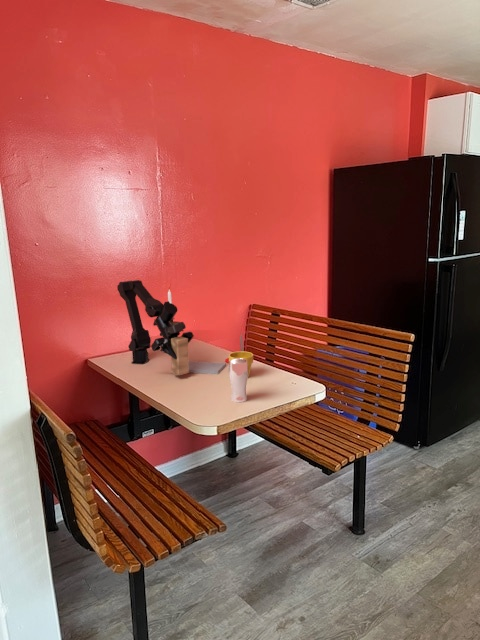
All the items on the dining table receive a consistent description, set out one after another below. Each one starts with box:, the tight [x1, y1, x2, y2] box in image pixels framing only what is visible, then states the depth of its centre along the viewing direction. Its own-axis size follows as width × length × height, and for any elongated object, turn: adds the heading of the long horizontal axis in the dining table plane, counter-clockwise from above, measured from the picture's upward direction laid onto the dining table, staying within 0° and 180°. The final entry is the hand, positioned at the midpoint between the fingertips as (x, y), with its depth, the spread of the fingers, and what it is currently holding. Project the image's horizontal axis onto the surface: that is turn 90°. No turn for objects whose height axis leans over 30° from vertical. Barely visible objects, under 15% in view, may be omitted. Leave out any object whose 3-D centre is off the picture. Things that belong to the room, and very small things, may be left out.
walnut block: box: [171, 335, 190, 376], centre depth 202 cm, size 5×5×15 cm
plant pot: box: [228, 350, 254, 378], centre depth 202 cm, size 10×10×10 cm
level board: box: [188, 360, 227, 375], centre depth 215 cm, size 18×12×1 cm, turn 74°
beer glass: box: [228, 358, 249, 403], centre depth 177 cm, size 7×7×15 cm
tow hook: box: [224, 333, 245, 364], centre depth 224 cm, size 8×13×9 cm
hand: (181, 357), depth 201 cm, fingers closed on walnut block, 5 cm apart
